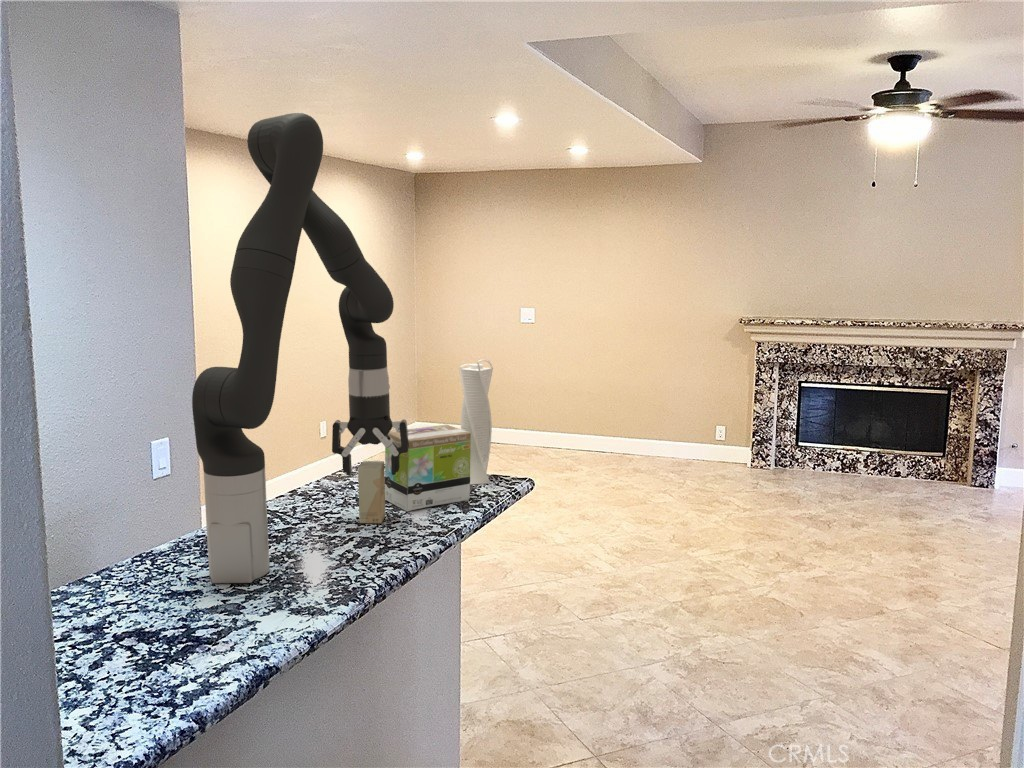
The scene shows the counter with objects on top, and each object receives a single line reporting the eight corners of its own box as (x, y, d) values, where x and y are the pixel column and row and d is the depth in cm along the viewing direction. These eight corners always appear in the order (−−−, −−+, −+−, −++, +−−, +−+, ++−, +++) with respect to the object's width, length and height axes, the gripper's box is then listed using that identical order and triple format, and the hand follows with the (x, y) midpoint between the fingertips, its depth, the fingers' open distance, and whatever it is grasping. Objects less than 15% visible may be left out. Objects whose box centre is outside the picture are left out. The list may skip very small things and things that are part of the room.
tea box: (408, 513, 164) (407, 440, 161) (384, 500, 172) (382, 431, 169) (471, 500, 173) (471, 430, 170) (446, 488, 181) (445, 422, 178)
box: (381, 524, 157) (380, 467, 155) (358, 523, 157) (357, 467, 156) (385, 515, 162) (384, 460, 161) (364, 514, 163) (362, 460, 161)
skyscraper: (496, 485, 183) (496, 359, 179) (463, 487, 182) (462, 360, 177) (489, 475, 191) (489, 354, 186) (457, 477, 189) (456, 355, 185)
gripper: (327, 395, 152) (330, 480, 155) (405, 394, 153) (407, 479, 155) (333, 387, 159) (337, 469, 162) (408, 387, 160) (410, 468, 163)
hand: (371, 474), depth 159 cm, fingers open, 8 cm apart
